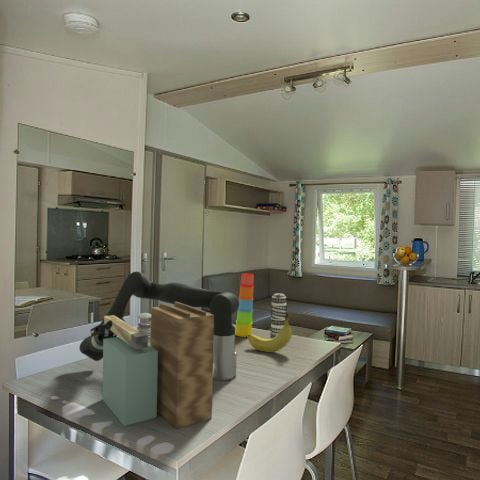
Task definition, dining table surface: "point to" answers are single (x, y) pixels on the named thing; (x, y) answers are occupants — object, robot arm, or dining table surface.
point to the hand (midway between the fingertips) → (117, 322)
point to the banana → (273, 343)
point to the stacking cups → (245, 306)
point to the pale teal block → (129, 380)
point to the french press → (145, 325)
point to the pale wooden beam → (127, 332)
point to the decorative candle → (277, 313)
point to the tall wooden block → (183, 362)
